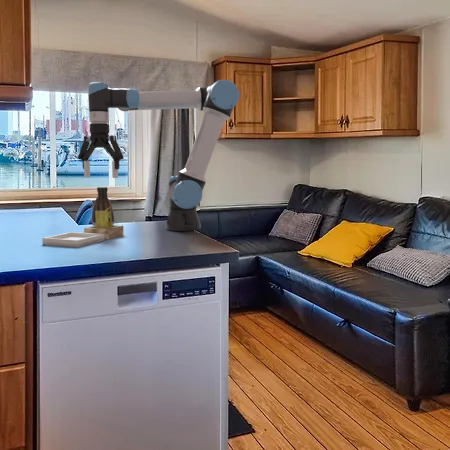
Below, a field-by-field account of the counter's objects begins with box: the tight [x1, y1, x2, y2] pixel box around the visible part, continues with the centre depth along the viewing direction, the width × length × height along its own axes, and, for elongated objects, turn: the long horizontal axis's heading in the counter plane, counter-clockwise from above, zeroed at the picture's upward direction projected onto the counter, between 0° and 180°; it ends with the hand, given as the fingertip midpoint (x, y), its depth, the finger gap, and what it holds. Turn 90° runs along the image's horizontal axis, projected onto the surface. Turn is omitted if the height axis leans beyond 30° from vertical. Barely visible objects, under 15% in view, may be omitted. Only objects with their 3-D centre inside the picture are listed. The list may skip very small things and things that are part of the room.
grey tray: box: [41, 231, 105, 248], centre depth 202 cm, size 16×16×2 cm
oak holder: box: [83, 224, 125, 240], centre depth 216 cm, size 11×11×4 cm
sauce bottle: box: [95, 186, 112, 229], centre depth 215 cm, size 6×6×20 cm
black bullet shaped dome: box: [90, 196, 116, 226], centre depth 236 cm, size 10×10×15 cm
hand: (101, 177), depth 213 cm, fingers open, 13 cm apart
